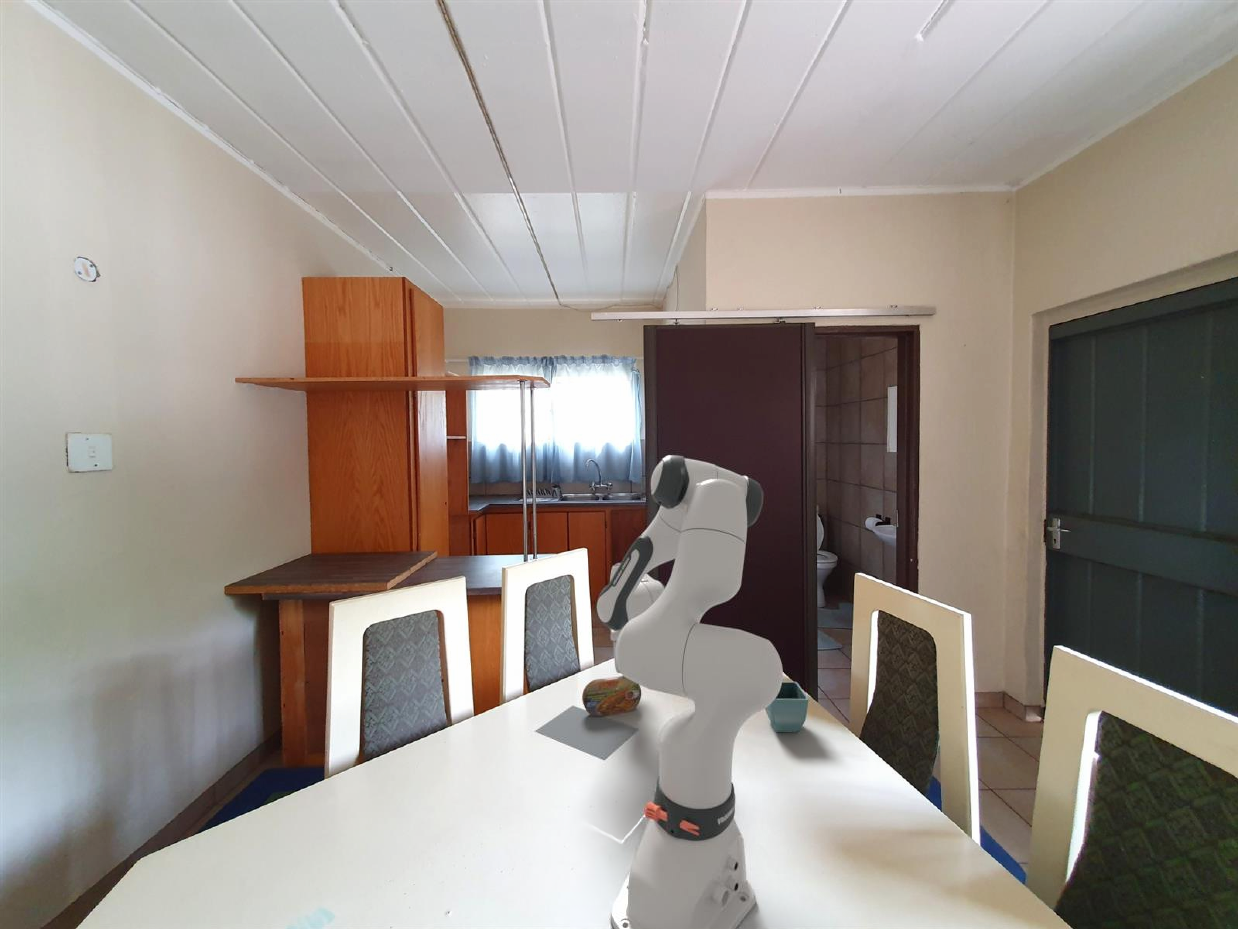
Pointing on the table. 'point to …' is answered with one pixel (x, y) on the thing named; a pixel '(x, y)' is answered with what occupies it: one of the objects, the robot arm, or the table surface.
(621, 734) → the mat
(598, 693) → the tin
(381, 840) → the table surface
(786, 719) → the flower pot
